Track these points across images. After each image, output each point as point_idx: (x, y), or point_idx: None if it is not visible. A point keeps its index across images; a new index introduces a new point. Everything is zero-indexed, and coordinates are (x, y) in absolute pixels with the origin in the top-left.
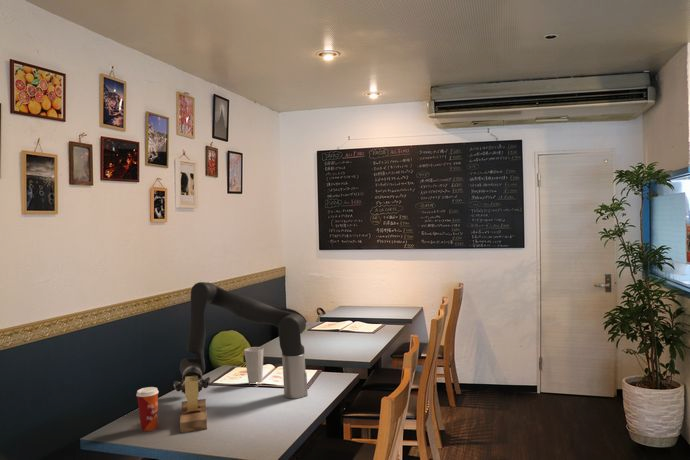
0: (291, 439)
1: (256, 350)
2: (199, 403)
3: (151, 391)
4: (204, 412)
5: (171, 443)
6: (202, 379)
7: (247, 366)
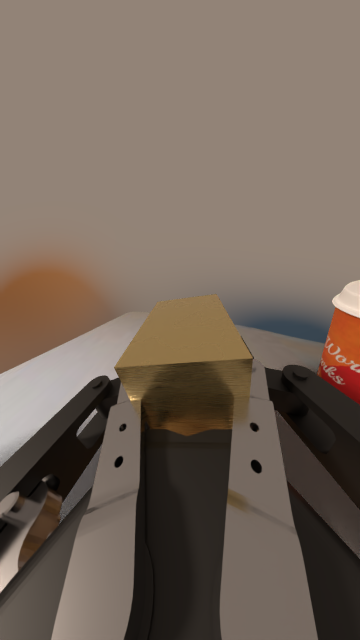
0: (103, 325)
1: None
2: None
3: (351, 283)
4: None
5: None
6: (15, 574)
7: None
